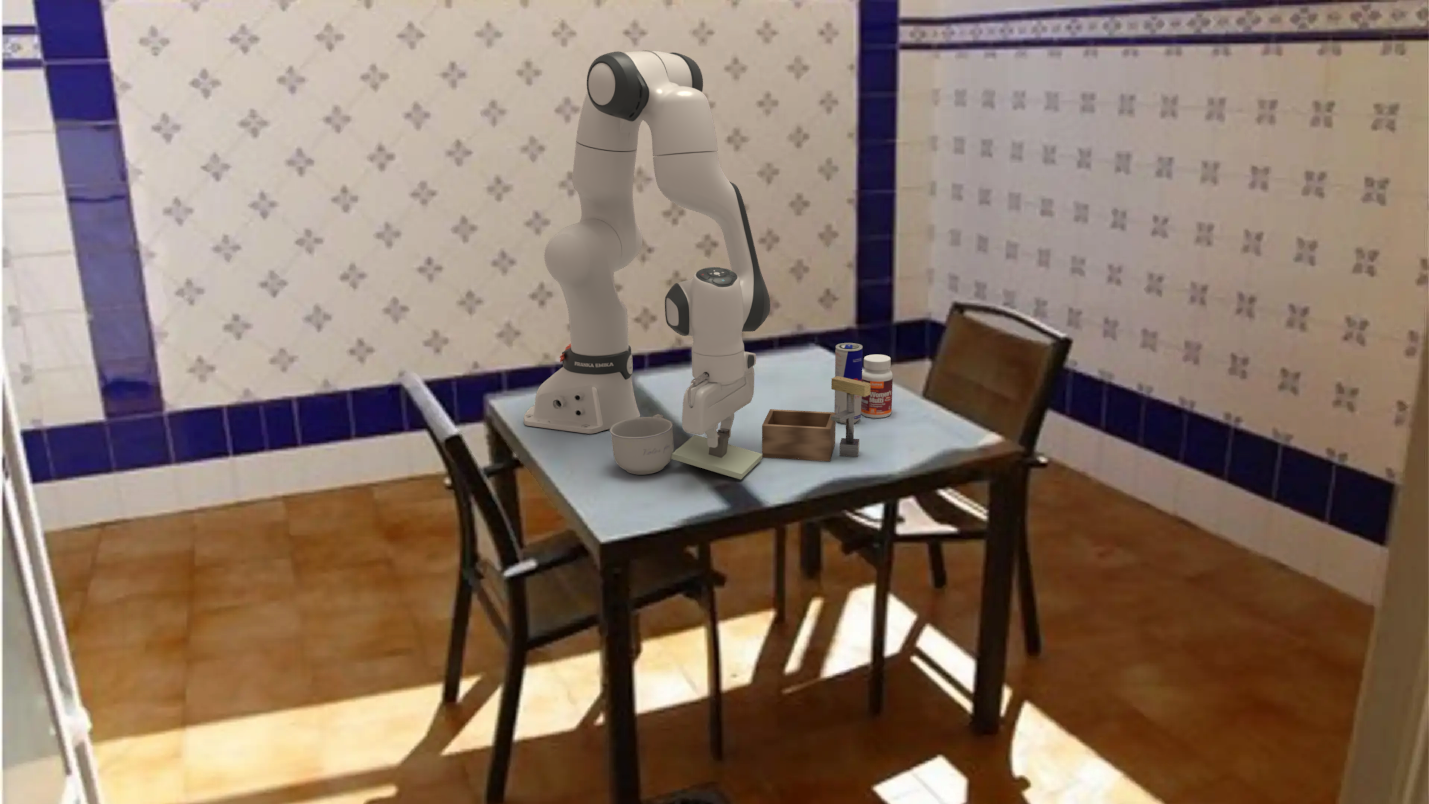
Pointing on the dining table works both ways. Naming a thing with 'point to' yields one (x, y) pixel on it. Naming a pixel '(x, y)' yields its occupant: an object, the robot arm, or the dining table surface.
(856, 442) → the key socket
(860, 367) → the beverage can
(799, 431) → the box
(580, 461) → the dining table surface
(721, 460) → the lid
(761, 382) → the dining table surface
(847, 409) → the key
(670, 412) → the dining table surface
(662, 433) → the teacup
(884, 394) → the pill bottle
